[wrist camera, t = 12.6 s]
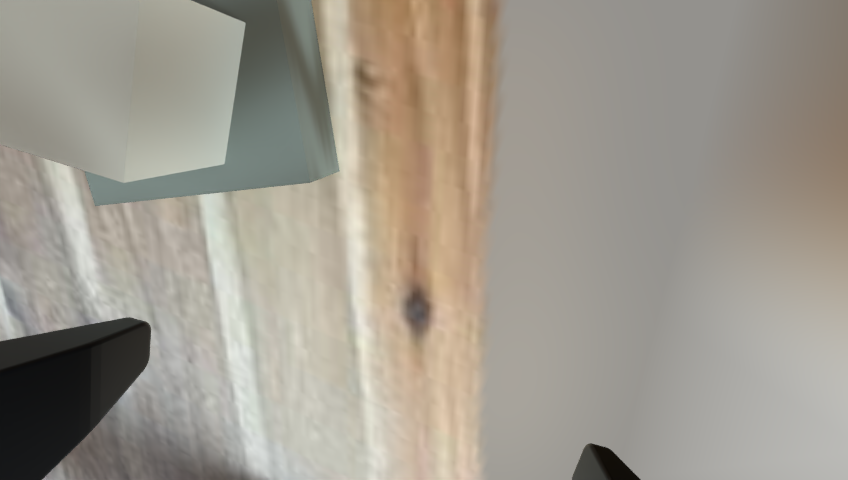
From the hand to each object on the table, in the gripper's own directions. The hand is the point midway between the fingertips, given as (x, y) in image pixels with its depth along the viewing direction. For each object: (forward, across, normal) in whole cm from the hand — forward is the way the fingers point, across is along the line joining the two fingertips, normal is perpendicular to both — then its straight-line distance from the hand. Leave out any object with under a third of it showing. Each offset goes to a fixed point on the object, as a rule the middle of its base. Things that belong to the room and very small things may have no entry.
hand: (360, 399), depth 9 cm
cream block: (+8, +10, -5) cm, 14 cm away
